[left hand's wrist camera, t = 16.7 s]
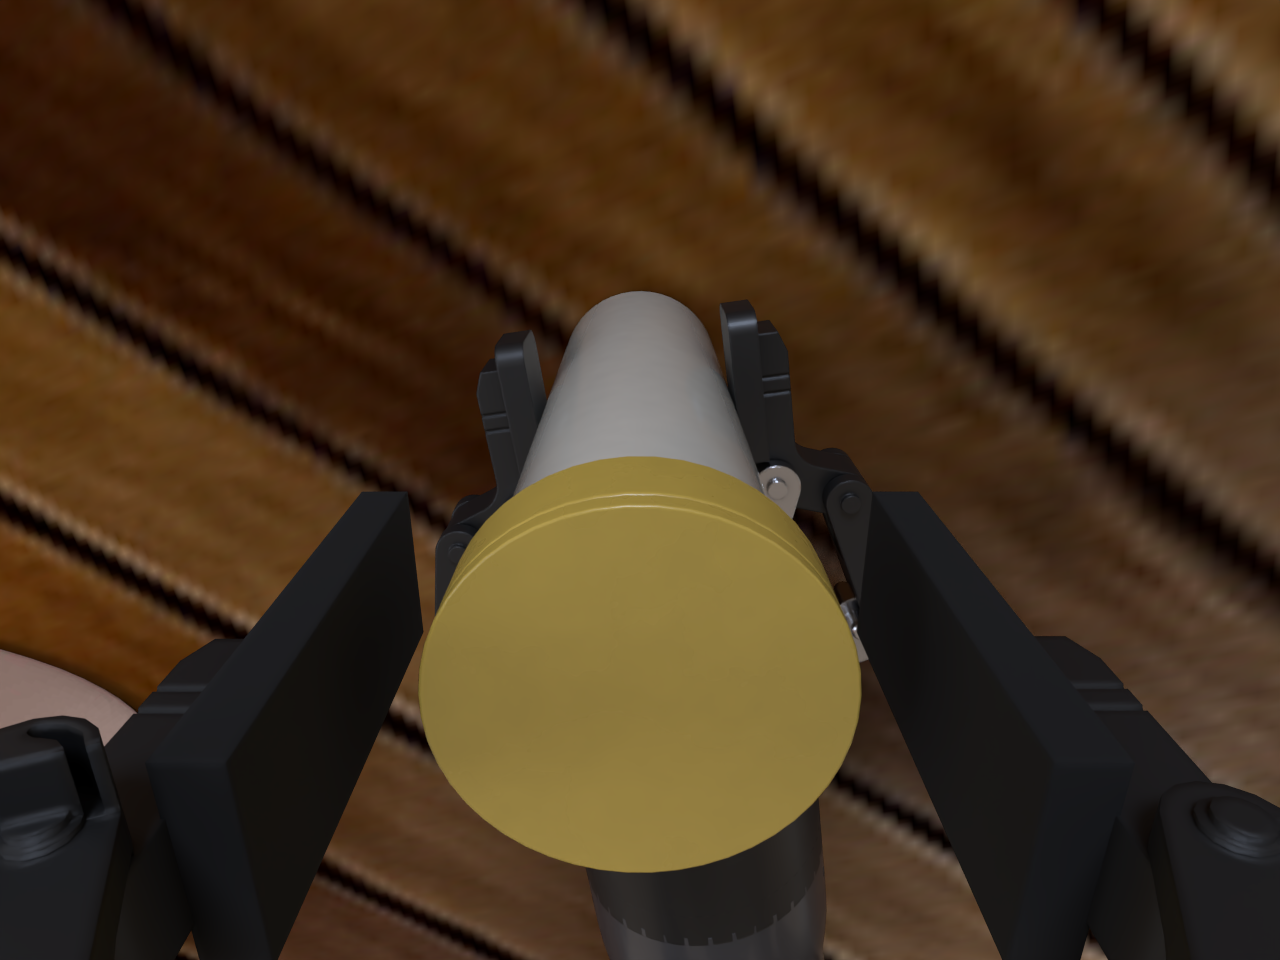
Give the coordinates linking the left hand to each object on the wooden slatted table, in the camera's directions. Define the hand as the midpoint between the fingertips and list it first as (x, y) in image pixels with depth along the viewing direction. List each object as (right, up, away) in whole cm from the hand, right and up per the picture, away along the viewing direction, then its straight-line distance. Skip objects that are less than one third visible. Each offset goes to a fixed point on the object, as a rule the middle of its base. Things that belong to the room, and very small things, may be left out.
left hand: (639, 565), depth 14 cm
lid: (0, -1, -3) cm, 4 cm away
